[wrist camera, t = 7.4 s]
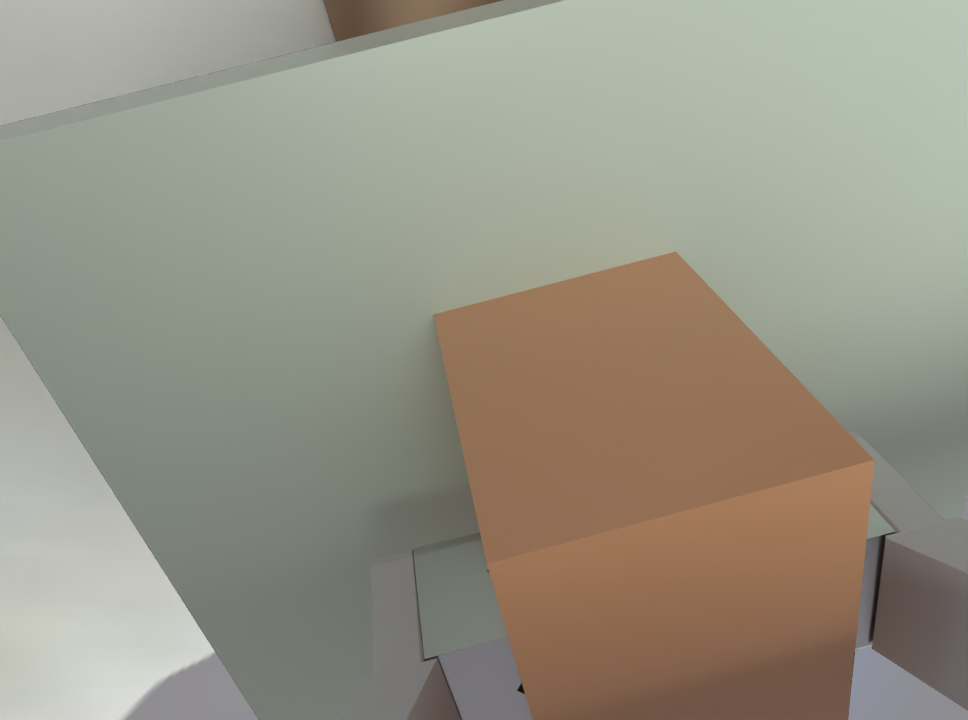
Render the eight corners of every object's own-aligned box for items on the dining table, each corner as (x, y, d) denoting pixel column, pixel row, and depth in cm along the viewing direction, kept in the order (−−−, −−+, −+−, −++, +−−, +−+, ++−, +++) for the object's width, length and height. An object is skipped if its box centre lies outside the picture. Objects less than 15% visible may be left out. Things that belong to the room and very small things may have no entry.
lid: (314, 701, 15) (299, 1096, 10) (-12, 115, 9) (-485, 397, 4) (876, 549, 16) (1131, 858, 11) (952, -124, 9) (1697, -158, 4)
